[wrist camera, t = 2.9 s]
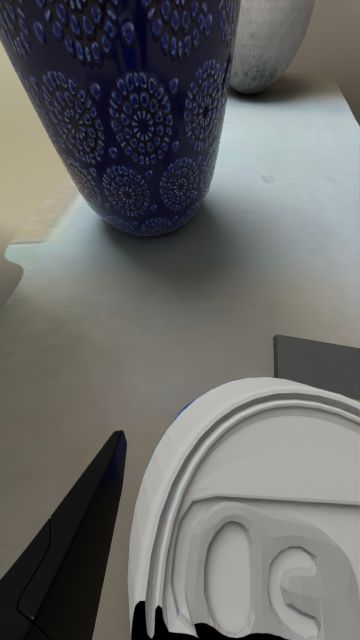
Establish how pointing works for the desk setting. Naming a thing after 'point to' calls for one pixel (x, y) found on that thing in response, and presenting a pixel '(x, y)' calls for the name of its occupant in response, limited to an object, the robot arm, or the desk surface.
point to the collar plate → (318, 365)
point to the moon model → (267, 41)
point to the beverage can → (251, 519)
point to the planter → (129, 98)
